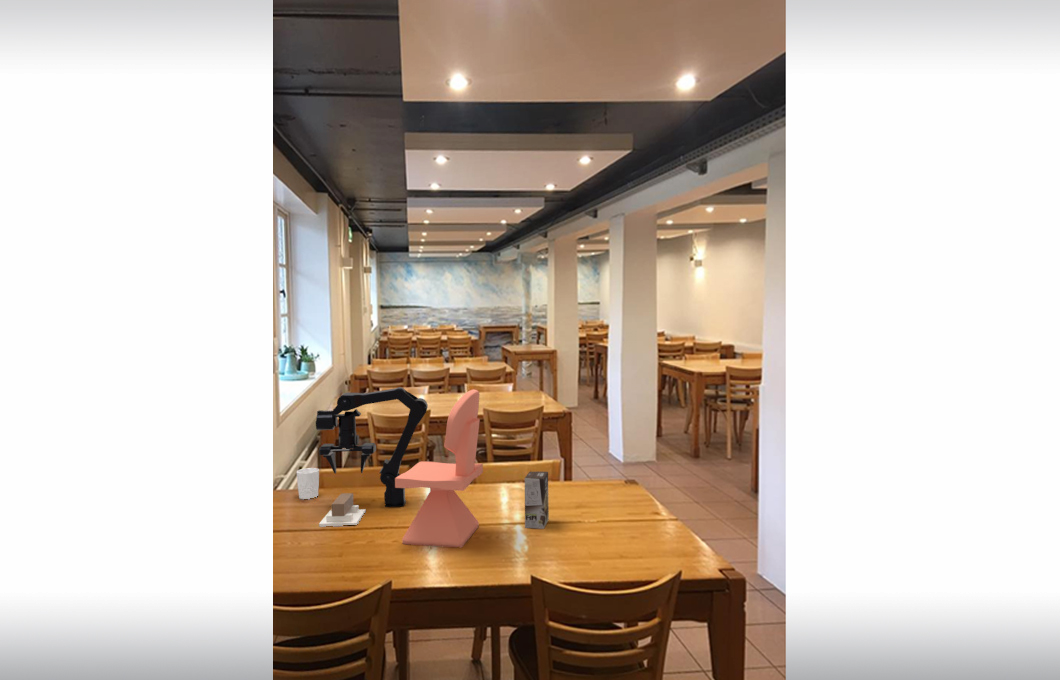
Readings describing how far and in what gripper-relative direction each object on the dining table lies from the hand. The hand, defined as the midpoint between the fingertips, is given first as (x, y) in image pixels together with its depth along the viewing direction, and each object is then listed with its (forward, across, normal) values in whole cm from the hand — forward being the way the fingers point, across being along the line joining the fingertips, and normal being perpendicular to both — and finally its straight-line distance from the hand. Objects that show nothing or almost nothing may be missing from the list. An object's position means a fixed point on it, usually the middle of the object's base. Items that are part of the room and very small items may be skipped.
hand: (348, 472), depth 232 cm
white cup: (+12, +18, -13) cm, 25 cm away
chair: (+12, -36, +32) cm, 50 cm away
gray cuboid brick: (+9, -1, +14) cm, 17 cm away
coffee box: (+12, -65, +24) cm, 70 cm away
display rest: (+12, -1, +14) cm, 18 cm away
